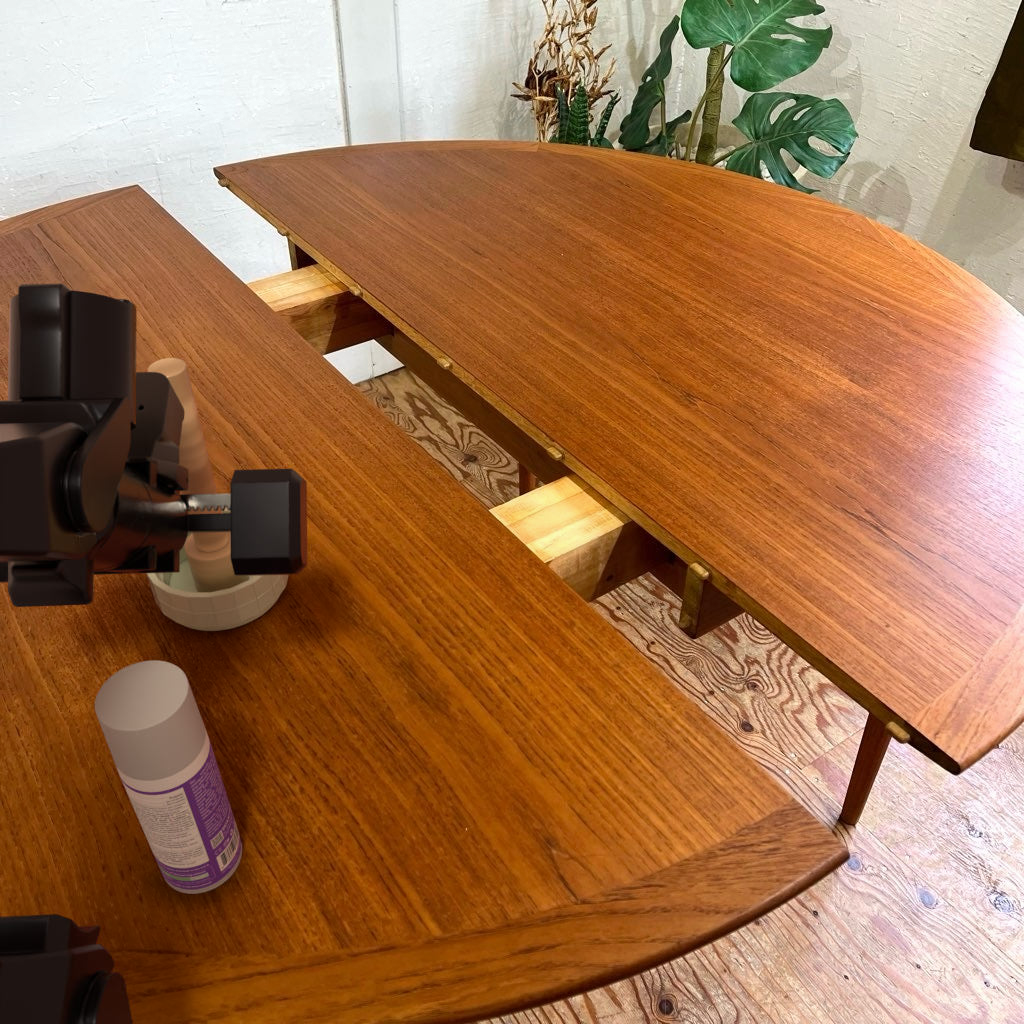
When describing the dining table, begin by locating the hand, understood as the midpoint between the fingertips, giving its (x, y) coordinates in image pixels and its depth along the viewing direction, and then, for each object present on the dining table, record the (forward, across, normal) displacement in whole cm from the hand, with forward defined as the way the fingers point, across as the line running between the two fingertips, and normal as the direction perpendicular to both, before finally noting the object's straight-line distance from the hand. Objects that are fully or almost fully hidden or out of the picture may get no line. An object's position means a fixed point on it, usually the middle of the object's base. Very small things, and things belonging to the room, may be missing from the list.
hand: (186, 535), depth 65 cm
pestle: (+9, 0, +3) cm, 10 cm away
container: (-6, -3, +20) cm, 21 cm away
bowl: (+10, 0, +3) cm, 10 cm away
